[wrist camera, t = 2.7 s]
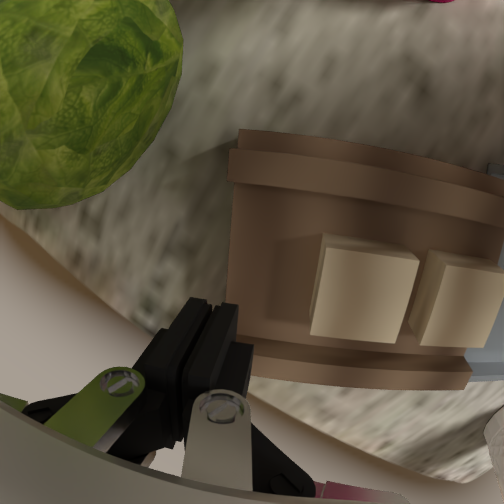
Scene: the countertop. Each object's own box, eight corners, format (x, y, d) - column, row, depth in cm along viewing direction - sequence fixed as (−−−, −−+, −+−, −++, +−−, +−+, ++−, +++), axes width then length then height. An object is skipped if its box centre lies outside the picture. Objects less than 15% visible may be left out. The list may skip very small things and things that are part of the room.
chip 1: (404, 245, 16) (419, 260, 13) (384, 319, 17) (394, 343, 15) (322, 233, 16) (326, 247, 14) (309, 310, 18) (309, 334, 15)
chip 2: (489, 259, 15) (510, 275, 13) (467, 326, 16) (483, 347, 14) (428, 249, 16) (446, 264, 13) (407, 321, 17) (419, 345, 15)
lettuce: (61, 7, 21) (-27, -38, 8) (246, 40, 17) (136, -115, 4) (-1, 126, 24) (-99, 109, 11) (137, 235, 20) (-61, 253, 7)
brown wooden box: (483, 176, 17) (532, 188, 12) (433, 353, 22) (457, 400, 16) (251, 133, 19) (231, 126, 13) (233, 331, 23) (214, 381, 18)
